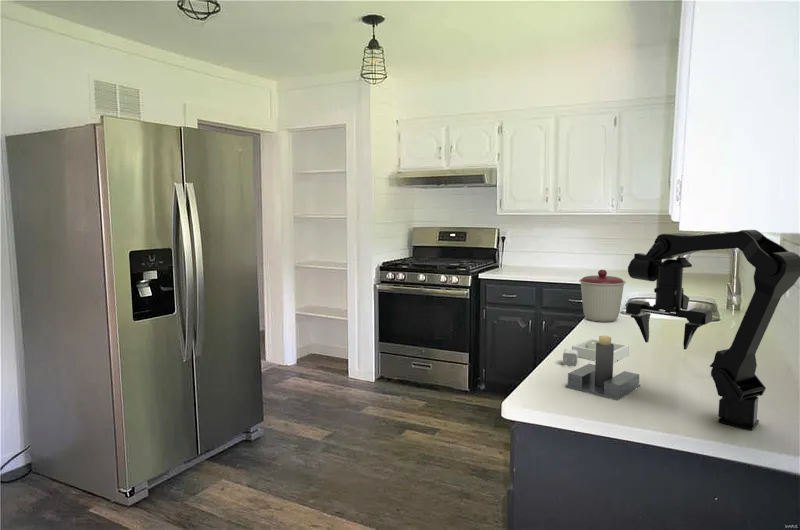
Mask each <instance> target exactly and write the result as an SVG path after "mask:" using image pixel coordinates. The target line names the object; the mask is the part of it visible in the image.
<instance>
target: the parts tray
mask: <svg viewBox="0 0 800 530" xmlns="http://www.w3.org/2000/svg"><path fill="white" fill-rule="evenodd" d="M591 341H593V342H594V343H599V339H594V338H589V339H585V340H584V341H582V342H578V343H576V344H573V345H571V350H577V352H578V358H580V357H581V358H580V359H585V358H586V360H589V359H592V360H591V361H594V360H596V350H593V349H588V348H586V344H587V343H588V342H591ZM611 344H613V345H614V355H613V362H614V363H616V362H618V361H621V360H622V359H625V358H627V357H628V356H630V345H627V344H622V343H616V342H612V341H611ZM626 356H627V357H626ZM624 357H625V358H624ZM617 360H618V361H617ZM615 361H616V362H615Z"/></svg>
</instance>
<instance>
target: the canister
mask: <svg viewBox="0 0 800 530" xmlns="http://www.w3.org/2000/svg"><path fill="white" fill-rule="evenodd" d="M607 274H608V272H607V270H606V269H600V270H598V272H597V275H586V276H584V277H582V278H580V279H579V283H580V290H581V300H582V301H581V302H582V310H583V316H584V317H585V318H586V319H587V320H589V321H593V322H598V323H599V322H600V323H609V322H611V323H612V322H615V321H616V320H618V317H619V315H620V312H621V305H622V299H623V295H624V293H623V292H624V285H625V284H626V281H625V280H624V279H622V278H620V277H618V276H612V275H607Z"/></svg>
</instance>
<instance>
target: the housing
mask: <svg viewBox="0 0 800 530" xmlns="http://www.w3.org/2000/svg"><path fill="white" fill-rule="evenodd" d="M638 387H639V388H641V384H640V374H639V373H634V372H629V371H625V370H624V371H622V372H620V373H618V374H616V375H613V377H612V378H610V379H608V380H607V381H605V382H604V387H599V386H596V385H595V364H592V363H587V364H584V365H583V366H581V367H579V368H577V369H574V370H572V371H570V372H567V384H565V388H567V389H571V390H576V391H578V392H579V391H580V392H584V393H587V392H588V393H587V394H592V395H595V394H596V395H595V396H600V397H603V398H607V399H610V398H612V399H611V400H614V399H615V401H619V400H621V399H623V398H624V397H626V396H628V395H629V394H631V393H632V392H634V391H635V389H636V388H637V389H639V388H638ZM637 389H636V390H637ZM633 390H634V391H633ZM630 392H631V393H630ZM625 395H626V396H625ZM620 398H621V399H620ZM618 399H619V400H618Z"/></svg>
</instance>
